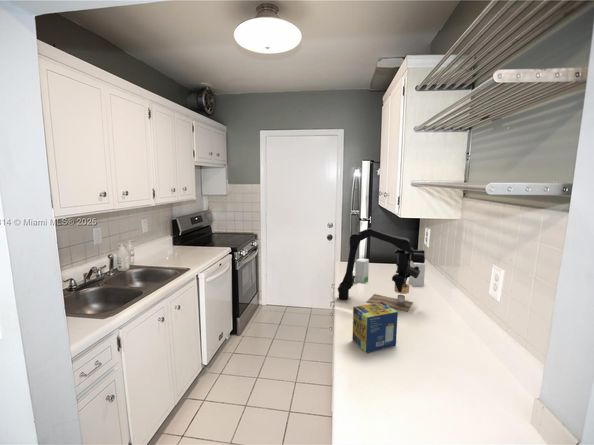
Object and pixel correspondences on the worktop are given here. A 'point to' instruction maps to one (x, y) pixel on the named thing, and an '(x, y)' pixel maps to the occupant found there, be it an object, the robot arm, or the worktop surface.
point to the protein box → (374, 326)
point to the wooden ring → (404, 289)
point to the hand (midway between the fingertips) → (401, 289)
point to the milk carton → (420, 279)
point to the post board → (392, 302)
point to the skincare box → (361, 270)
